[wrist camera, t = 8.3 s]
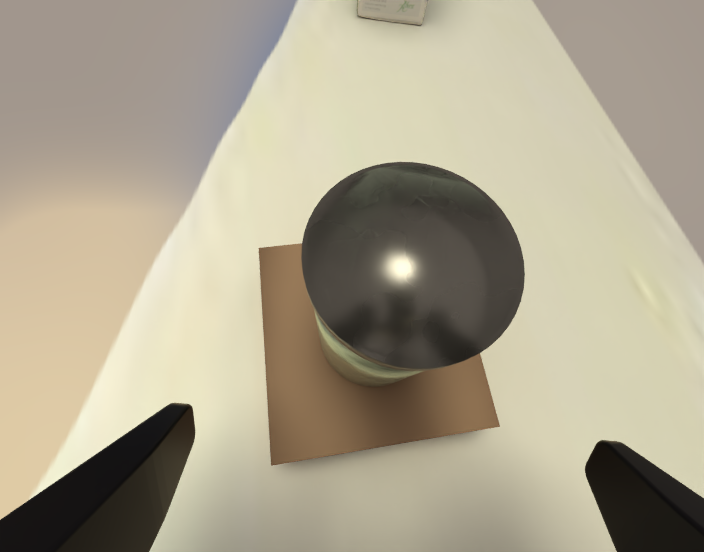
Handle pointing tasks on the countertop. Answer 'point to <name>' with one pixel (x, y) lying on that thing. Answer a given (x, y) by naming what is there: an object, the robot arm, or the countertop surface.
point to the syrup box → (393, 10)
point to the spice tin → (409, 272)
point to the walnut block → (349, 383)
